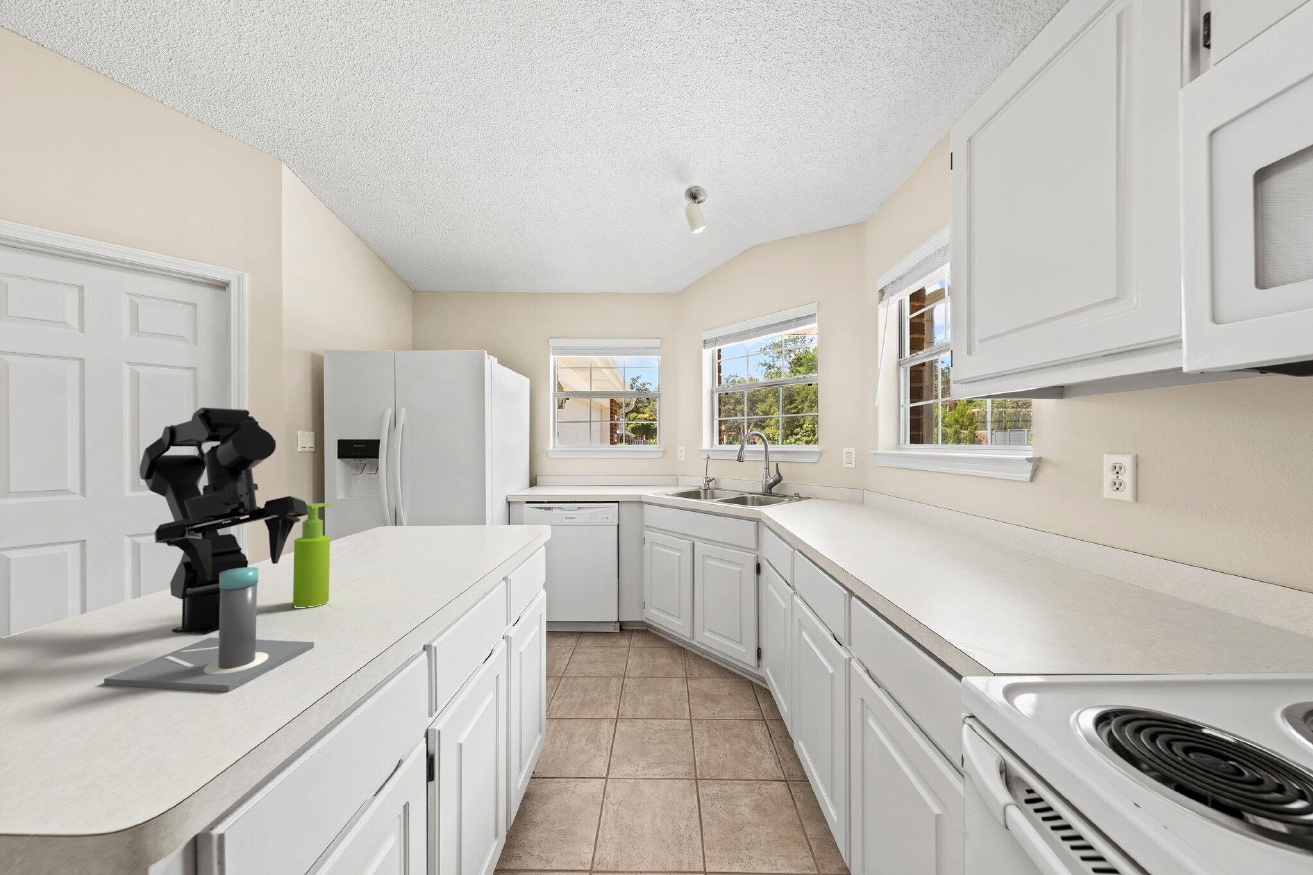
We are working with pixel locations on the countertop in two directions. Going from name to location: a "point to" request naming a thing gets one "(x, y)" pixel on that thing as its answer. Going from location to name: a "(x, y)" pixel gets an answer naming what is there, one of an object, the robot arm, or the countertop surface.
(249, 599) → the marker
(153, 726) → the countertop surface
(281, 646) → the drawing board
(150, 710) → the countertop surface
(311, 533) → the soap dispenser
